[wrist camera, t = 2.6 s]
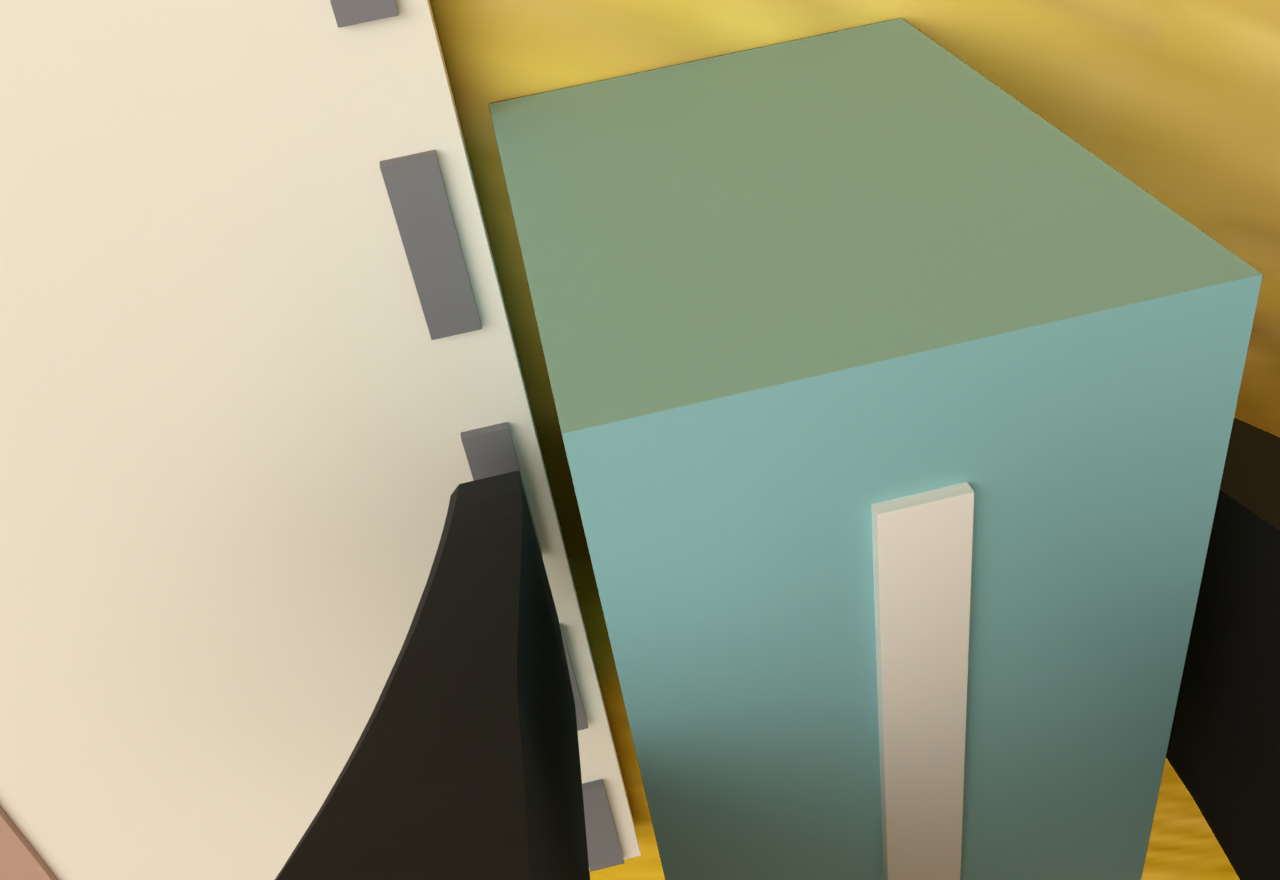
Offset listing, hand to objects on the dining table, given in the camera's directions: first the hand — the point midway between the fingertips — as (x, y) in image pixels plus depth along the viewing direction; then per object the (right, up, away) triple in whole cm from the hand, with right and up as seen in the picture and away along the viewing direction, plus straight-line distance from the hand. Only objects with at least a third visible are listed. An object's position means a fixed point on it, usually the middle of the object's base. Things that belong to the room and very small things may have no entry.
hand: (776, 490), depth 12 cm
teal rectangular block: (0, +1, +1) cm, 2 cm away
